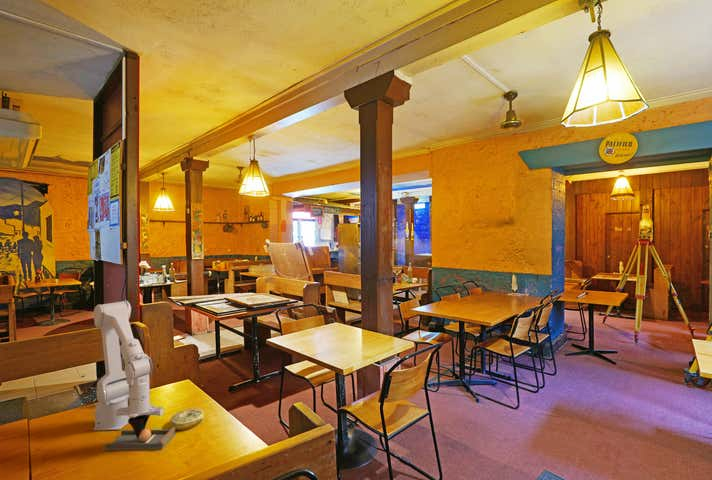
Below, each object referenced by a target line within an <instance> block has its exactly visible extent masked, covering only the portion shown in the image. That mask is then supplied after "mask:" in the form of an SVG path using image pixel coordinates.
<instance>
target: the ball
mask: <svg viewBox="0 0 712 480" xmlns="http://www.w3.org/2000/svg"><path fill="white" fill-rule="evenodd" d="M150 430H151V429H148V428H145V429H144V430H142V431H141V433H140V435H139V437H138V438H139V440H140V441H142V442H144V441H147V440H148V439H149V438H150V437H151V431H150Z"/></svg>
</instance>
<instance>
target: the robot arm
mask: <svg viewBox="0 0 712 480" xmlns="http://www.w3.org/2000/svg"><path fill="white" fill-rule="evenodd" d="M131 312H132V306H131V304H130V302H129V301H128V300H122V301H116V302H110V303H104V304H103V303H102V304H97V305H96V306H95V307H94V309H93V322H94V326H95V328H96V329H100V333H101V339H102V340H101V341H102V348H103V350H102V351H103V357H104V367H105V369H104V370H105V374H104V375H103V376H102V377H101V378H100V379H99V380H98V381H97V384H96V398H97V401H98V402H97V403H96V405H95V408H94V426H95V427H93V431H119V430H122V429H123V428H124V427H126V426H127V425H128V424H129V425H130V426H131V428H132V430H134V431H135V434H136V437H137V439H139V438H138V437H139V435H140V433H141V431H142V430H144V429H146V427H147V426H146V425H147V423H148V421H149V419H150V416H157V417H160V416H162V415H163V414H164V407H160V406H155V405H151V396H150V393H151V391H150V388H151V387H150V374H151V373H152V372H153V361H152V359H151V357H150V356H148V354H147V353H145V352H144V351H143V348H142V344H141V343H140V340H139V339H138V338H135V337H134V335H133V330H132V327H131V324H130V318H131ZM120 342H121V345H120ZM121 356H122V358H121ZM122 359H123V362H124V364H125V365H124V366H125V367H124V370H123V365H122ZM128 398H129V406H128Z"/></svg>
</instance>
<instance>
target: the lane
mask: <svg viewBox="0 0 712 480" xmlns="http://www.w3.org/2000/svg"><path fill="white" fill-rule="evenodd" d="M149 430H150V431H151V437H150V438H149V439H148V440H147V441H144V442H142V441H140V440H139V439H137V437H136V434H135V431H134V429H121V431H120V434H121V435H119V436H118V437H117V438H115V440H113V442H111V443H105V446H104V447H105V451H145V450H146V451H150V450H153V451H155V450H160V451H161V450H163V449H164V448H165V447H166V446H167V445H168V444H169V442H171V440H172V439H173V438H174V437H175V436H176V429H175V427H172V426H171V429H149Z"/></svg>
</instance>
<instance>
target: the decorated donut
mask: <svg viewBox="0 0 712 480" xmlns="http://www.w3.org/2000/svg"><path fill="white" fill-rule="evenodd" d="M204 417H205V414H204V411H203V410H201V409H200V408H197V407H192V408H186V409H183V410H181V411H178V412H176V413H174V414H173V415H172V416H171V418H170V420H169V425H170V426H171V428H172V427H175V431H186V430H189V429H192V428H195V427H196V426H198V425H199V423H201V422H202V420H204Z"/></svg>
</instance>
